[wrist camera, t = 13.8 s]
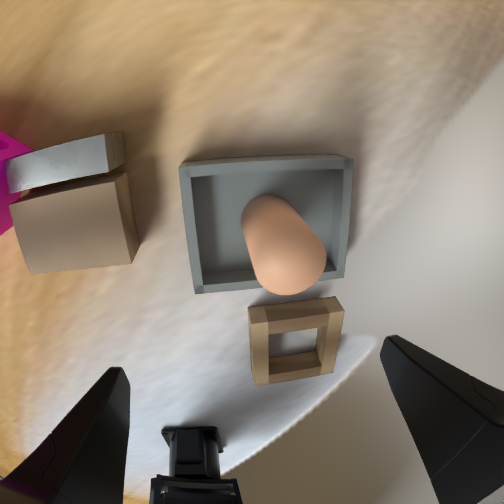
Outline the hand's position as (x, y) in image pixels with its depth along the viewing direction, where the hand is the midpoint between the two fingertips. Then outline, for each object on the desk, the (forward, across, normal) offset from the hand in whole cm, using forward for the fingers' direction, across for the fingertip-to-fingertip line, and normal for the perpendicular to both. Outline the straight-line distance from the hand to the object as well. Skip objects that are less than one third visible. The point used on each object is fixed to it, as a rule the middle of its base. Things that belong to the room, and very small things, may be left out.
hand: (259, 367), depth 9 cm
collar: (+12, -4, +10) cm, 16 cm away
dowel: (+11, -2, -1) cm, 11 cm away
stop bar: (+12, +10, -6) cm, 17 cm away
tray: (+12, -2, -1) cm, 12 cm away
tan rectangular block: (+12, +10, -2) cm, 16 cm away
